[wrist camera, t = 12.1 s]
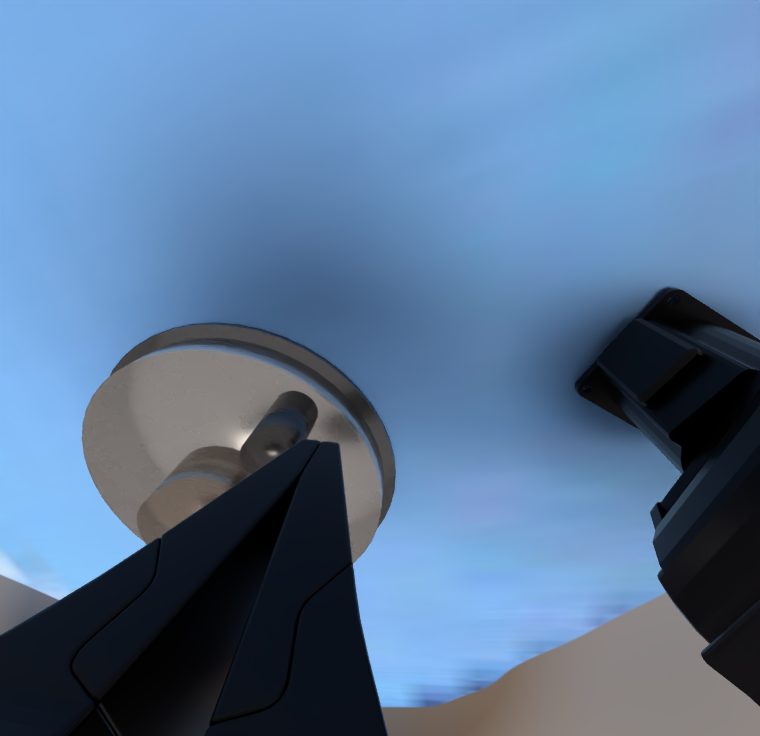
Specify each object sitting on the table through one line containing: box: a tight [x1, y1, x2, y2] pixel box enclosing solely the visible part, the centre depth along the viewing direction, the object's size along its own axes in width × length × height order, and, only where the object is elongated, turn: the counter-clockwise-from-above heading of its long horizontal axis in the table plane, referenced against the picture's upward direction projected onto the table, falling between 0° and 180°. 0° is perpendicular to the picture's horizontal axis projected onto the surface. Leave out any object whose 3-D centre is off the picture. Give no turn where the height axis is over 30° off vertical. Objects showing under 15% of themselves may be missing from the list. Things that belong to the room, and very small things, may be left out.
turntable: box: [82, 338, 384, 563], centre depth 21 cm, size 19×19×6 cm
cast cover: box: [137, 446, 251, 544], centre depth 20 cm, size 7×7×4 cm
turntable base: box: [110, 323, 395, 528], centre depth 24 cm, size 20×20×1 cm
